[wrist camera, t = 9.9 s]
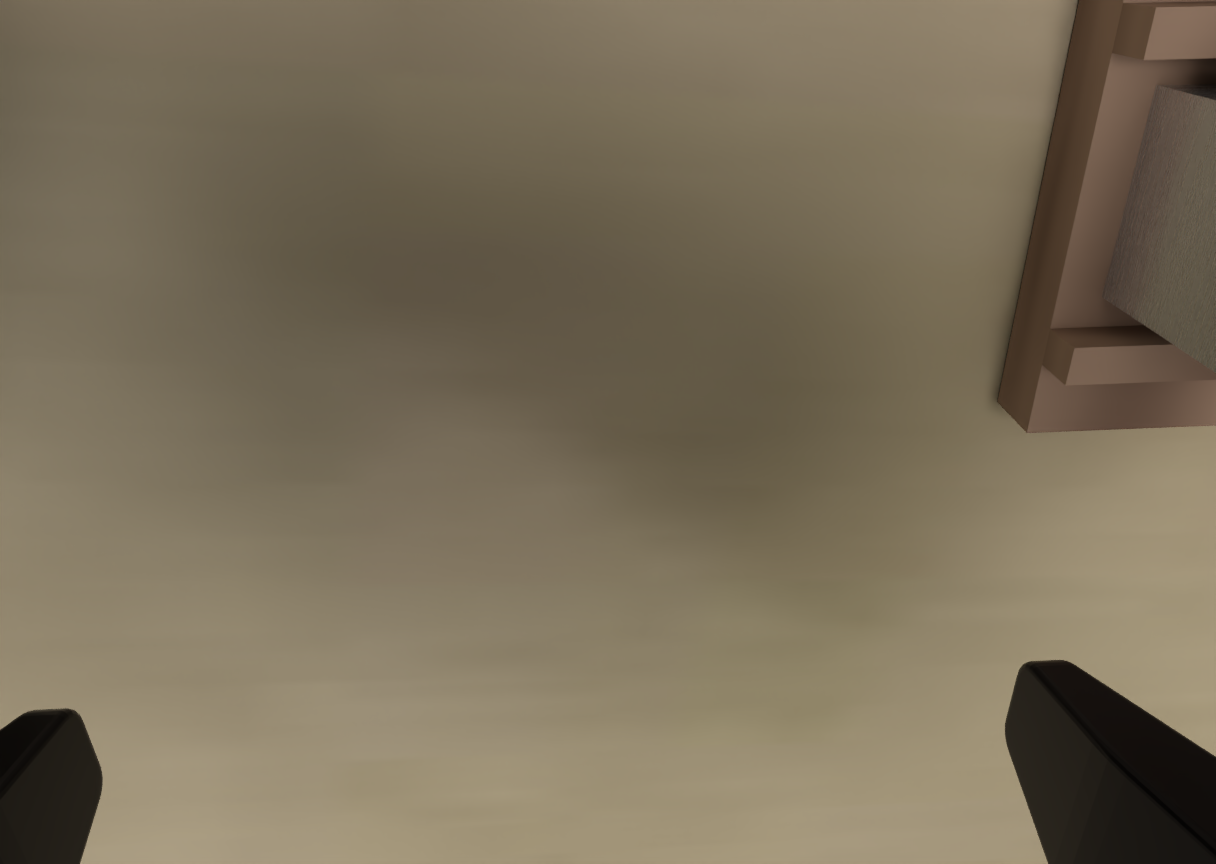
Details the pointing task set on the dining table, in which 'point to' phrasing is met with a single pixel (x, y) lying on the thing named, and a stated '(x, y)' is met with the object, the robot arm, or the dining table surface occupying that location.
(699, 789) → the dining table surface
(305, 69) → the dining table surface
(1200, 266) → the block
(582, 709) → the dining table surface
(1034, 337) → the rail
